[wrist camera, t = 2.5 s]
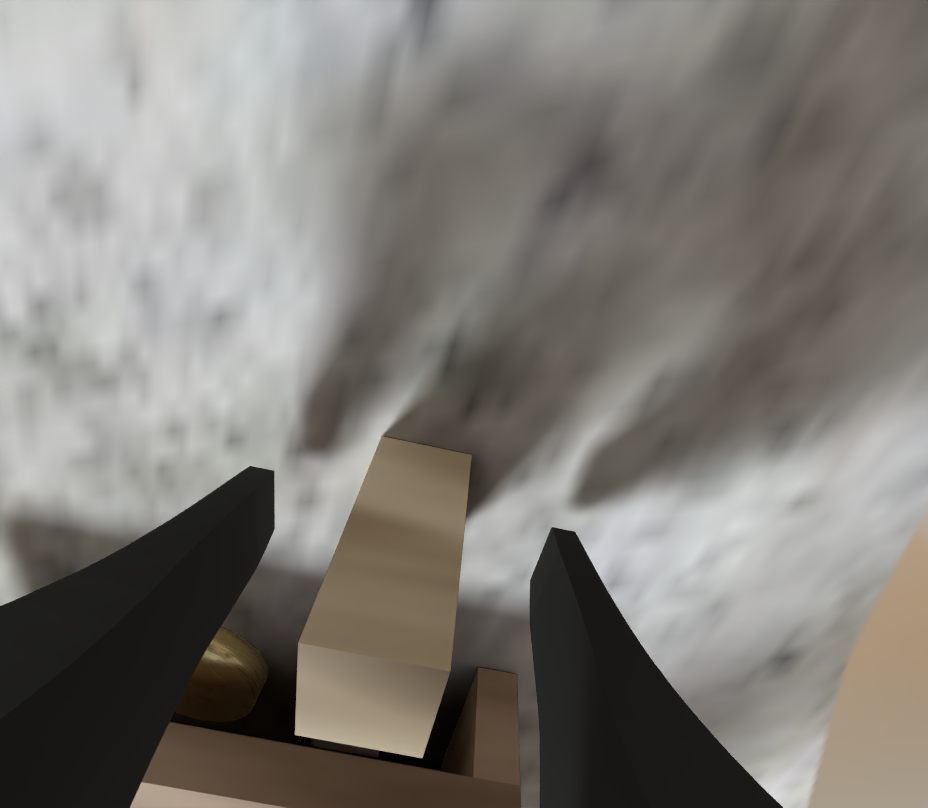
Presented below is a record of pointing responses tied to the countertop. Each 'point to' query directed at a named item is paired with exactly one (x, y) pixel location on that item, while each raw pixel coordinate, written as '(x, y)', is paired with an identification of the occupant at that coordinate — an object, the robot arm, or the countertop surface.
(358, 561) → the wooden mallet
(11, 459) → the countertop surface
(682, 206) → the countertop surface
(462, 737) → the low wooden bench
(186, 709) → the brass disc
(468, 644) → the countertop surface
